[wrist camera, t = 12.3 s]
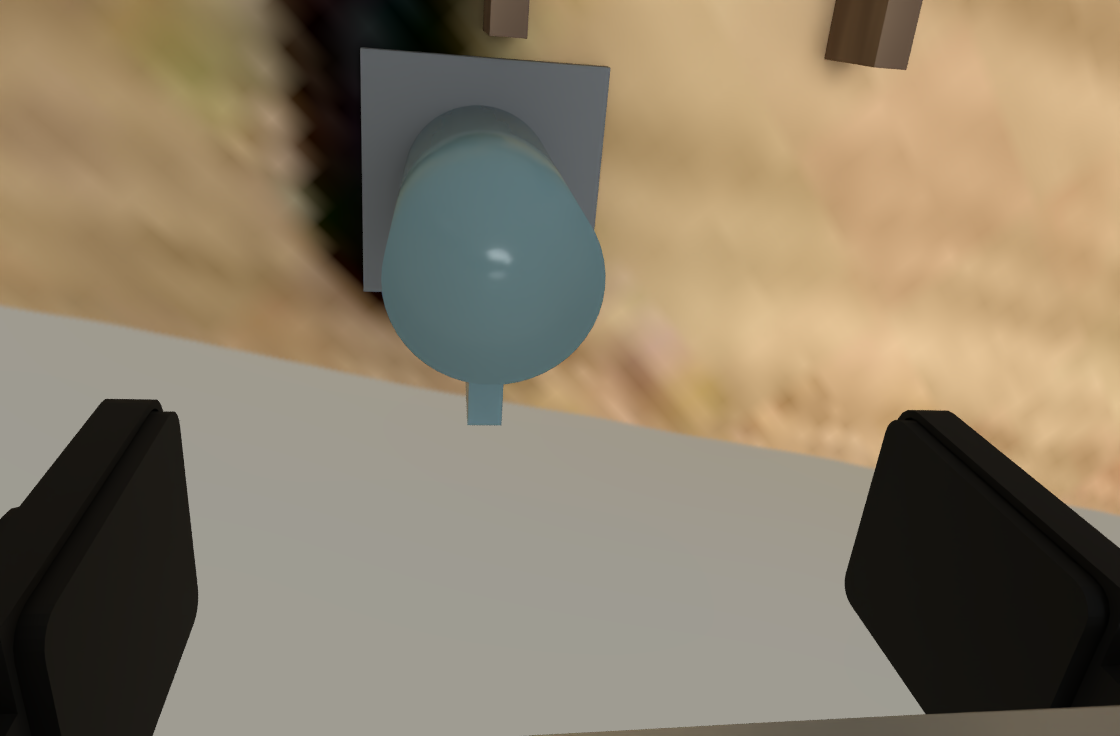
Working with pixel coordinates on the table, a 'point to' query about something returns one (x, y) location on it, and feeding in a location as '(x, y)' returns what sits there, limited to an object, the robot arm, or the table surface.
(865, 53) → the brown u-shaped frame
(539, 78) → the coaster
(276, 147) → the table surface
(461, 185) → the jug
